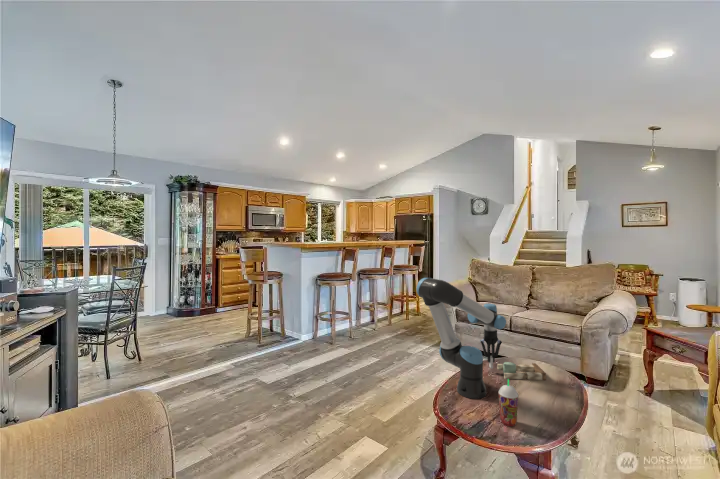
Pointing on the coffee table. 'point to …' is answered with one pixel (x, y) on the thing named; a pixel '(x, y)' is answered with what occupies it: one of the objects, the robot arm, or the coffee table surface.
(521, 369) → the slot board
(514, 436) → the coffee table surface
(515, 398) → the smoothie
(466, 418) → the coffee table surface
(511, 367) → the pale green rounded lump
